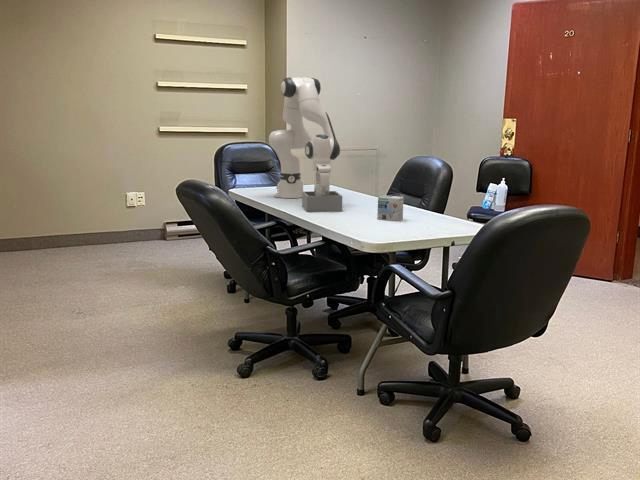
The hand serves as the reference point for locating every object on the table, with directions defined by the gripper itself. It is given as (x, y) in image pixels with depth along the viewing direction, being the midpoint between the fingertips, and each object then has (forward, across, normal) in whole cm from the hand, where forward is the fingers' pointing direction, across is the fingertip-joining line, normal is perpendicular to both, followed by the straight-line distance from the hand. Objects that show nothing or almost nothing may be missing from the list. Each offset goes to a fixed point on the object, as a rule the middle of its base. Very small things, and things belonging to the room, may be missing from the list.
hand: (321, 193), depth 305 cm
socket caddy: (+8, 0, 0) cm, 8 cm away
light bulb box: (+8, +34, +27) cm, 44 cm away
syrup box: (+8, 0, 0) cm, 8 cm away
